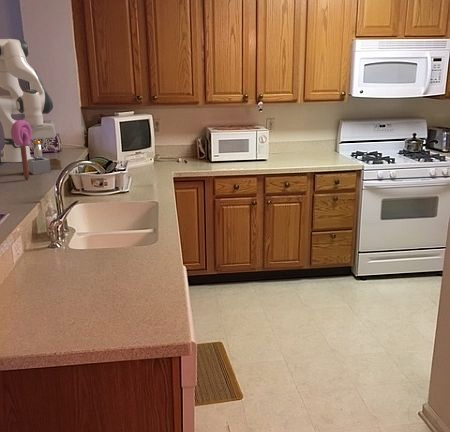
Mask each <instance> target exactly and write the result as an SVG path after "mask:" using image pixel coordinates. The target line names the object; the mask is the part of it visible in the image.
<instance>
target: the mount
mask: <svg viewBox="0 0 450 432" xmlns="http://www.w3.org/2000/svg"><path fill="white" fill-rule="evenodd" d="M48 159H49V160H50V168H51V171H55V170H62V160H61V159H59V158H48Z"/></svg>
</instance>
